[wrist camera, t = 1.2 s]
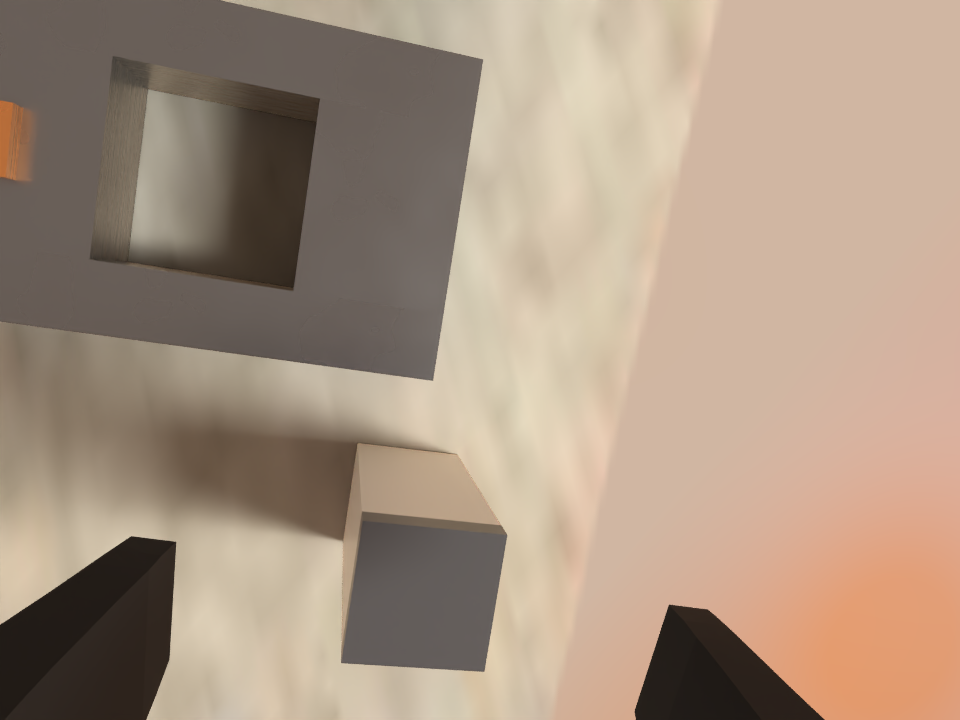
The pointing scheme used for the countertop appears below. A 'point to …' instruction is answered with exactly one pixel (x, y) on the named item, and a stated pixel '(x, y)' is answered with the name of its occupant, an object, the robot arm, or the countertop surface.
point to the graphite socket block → (253, 85)
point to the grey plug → (418, 562)
